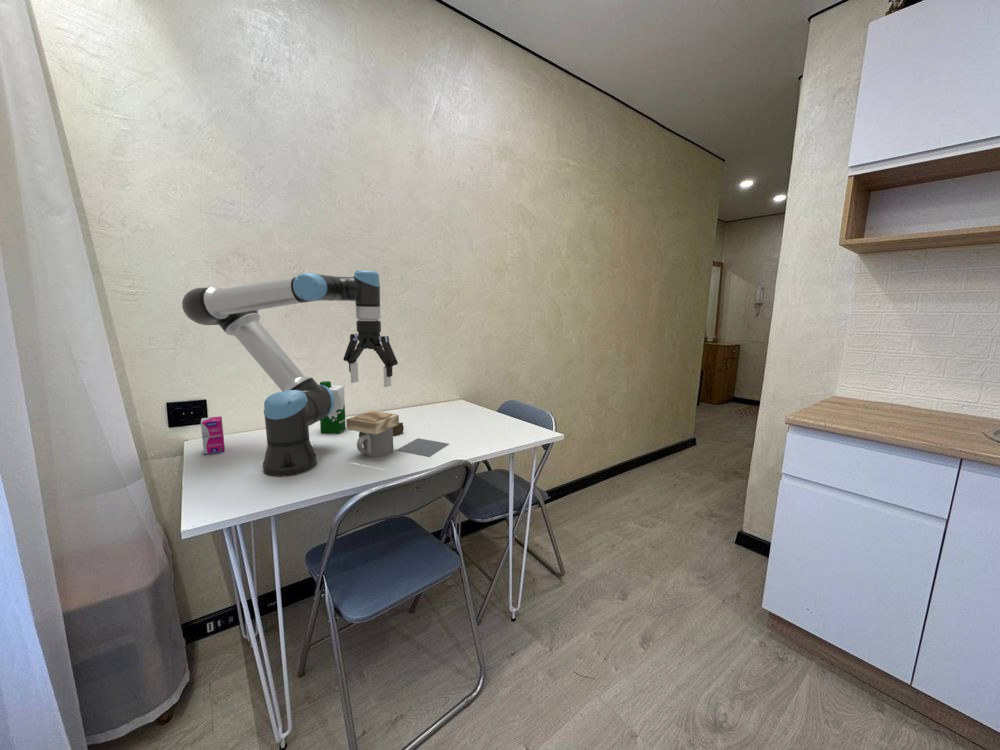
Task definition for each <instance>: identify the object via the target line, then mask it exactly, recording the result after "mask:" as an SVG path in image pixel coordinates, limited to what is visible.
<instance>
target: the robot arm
mask: <svg viewBox="0 0 1000 750" xmlns="http://www.w3.org/2000/svg"><path fill="white" fill-rule="evenodd" d="M353 274H354V275H353V276H334V275H325V274H318V273H315V272H306V273H301V274H299V275H297V276H293V277H287V278H282V279H281V278H279V279H275V280H269V281H262V282H257V283H249V284H244V285H238V286H232V287H226V288H219V287H218V286H209V287H197V288H193V289H191V290H189V291H188V292H186V293H185V295H184V296H183V297H182V300H181V305H182V311H183V312H184V314H185V315H186V317H187V318H188V319H190V320H191V321H192V322H194V323H196V324H199V325H202V326H219V327H220V328H221V329H222V330H223V332H224V333H225V334H226V335H227V336H228V335H229V336H234V337H235V338H236V339H237V340H238V341H239V343H240V344H241V345H242V346H243V347H244V348H245V350H246V351H247V353H248V354H250V356H251V357H252V359H254V360H255V361H256V362H257V364H258V365H259V366H260V367H261V369H262V370H263V371H264V373H266V374H267V376H268V377H269V378H270V379H271V380H272V381H273V383H274V384H275V385H276V386H277V388H279V389H280V390H281V391H279V392H275V393H272V394H270V395H269V396H267V397H266V398H265V400H264V403H263V406H264V407H263V416H264V422H265V432H266V433H265V434H266V444H267V445H266V446H267V447H266V451H265V455H264V460H263V462H262V472H263V474H265V475H267V476H270V477H290V476H294V475H299V474H303V473H305V472H308V471H309V470H312V469H314V468H315V467H316V466H317V464H318V459H317V458H318V457H317V454H316V453H315V450H314V448H313V445H312V443H311V440H310V429H309V427H310V426H312V425H314V424H315V423H318V422H320V420H322V419H324V418H325V417H326V416H328V415H329V414H330V413H331V412H332V410H333V408H334V403H335V398H334V395H333V393H332V391H331V390H330V389H329V388H328V387H326V386H324V385H320V384H318V382H317V381H316V380H315V379H314V378H313V377H312V376H306V375H304V374H303V372H302V371H301V370H300V369H299V367H298V366H297V365H296V364H295V363H294V361H293V360H292V359H291V358H290V357H289V355H287V353H286V352H285V351H284V350H283V348H282V347H281V346H280V345H279V343H278V342H276V340H275V339H274V337H272V335H271V334H270V333H269V332H268V330H267V329H266V328H265V327H264V326H263V324H261V322H260V318H261V315H260V313H258V312H259V310H266V309H273V308H278V307H283V306H289V305H297V304H304V303H310V302H317V301H329V302H331V301H332V302H334V301H338V302H339V301H342V302H344V301H346V302H349V301H351V302H355V316H356V317H355V318H356V319H357V321H356V322H355V323H356V332H358V333H351V334H350V335H349V342H348V344H347V347H346V351H345V353H344V356H343V359H342V360H343V361H344V362H347V363H348V371H349V373H350V383H351V384H353V383H358V382H359V363H358V361H357V360H358V358H359V357H360V356H361V354H362V353H363V351H364V349H369V350H373V351H374V352H375V353H376V354H377V355H378V357H379V358H380V360H381V362H382V363H383V364H384V366H383V368H382V370H383V388H388V387H391V386H392V377H393V375H394V373H393V367H394V366H397V365H398V364H399V363H398V360H397V358H396V355H395V353H394V350H393V348H392V346H391V343H390V338H389V336H388V335H381V331H382V323H381V322H382V321H381V318H382V317H381V285H380V275H379V272H377V271H376V270H375V271H374V270H355V271H354V273H353ZM311 468H312V469H311ZM302 472H303V473H302Z"/></svg>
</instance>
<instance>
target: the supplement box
mask: <svg viewBox="0 0 1000 750" xmlns="http://www.w3.org/2000/svg"><path fill="white" fill-rule="evenodd" d="M223 427H224V426H223V418H222V416H219V415H218V416H213V417H211V416H210V417H202V418H201V419H200V431H201V438H202V440H201V441H202V447H203V448H202V449H203V455H204V456H205V455H212V454H217V453H218V454H219V453H224V452H225V450H226V449H225V447H226V445H225V437H224V436H225V435H224V428H223Z"/></svg>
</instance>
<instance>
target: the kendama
mask: <svg viewBox="0 0 1000 750" xmlns="http://www.w3.org/2000/svg"><path fill="white" fill-rule="evenodd" d="M404 431H405V429H404V422H399V425H397V426H394V427H393V437H394V436H395V437H396V436H399V435H401V434H403V433H404ZM362 435H363V432H358V438H359V437H361V436H362Z"/></svg>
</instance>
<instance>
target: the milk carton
mask: <svg viewBox="0 0 1000 750" xmlns="http://www.w3.org/2000/svg"><path fill="white" fill-rule="evenodd" d="M319 385H324V386H326V387H328V388H329V389H330V390H331V391H332V393H333V395H334V398H335V403H334V408H333V410H332V412H331V413H330V414H329V415H328V416H326V417H325V418H324V419H322V420H319V423H320V424H319V425H320V434H328V433H336V434H337V435H339V434H340V433H341V432H343V431H344V430H345V429H347V426H346V405H345V385H337V384H336V385H333V384H332V382H331V381H329V380H326V381H325V380H323V381H320V382H319ZM342 430H343V431H342ZM336 434H335V435H336Z"/></svg>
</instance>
